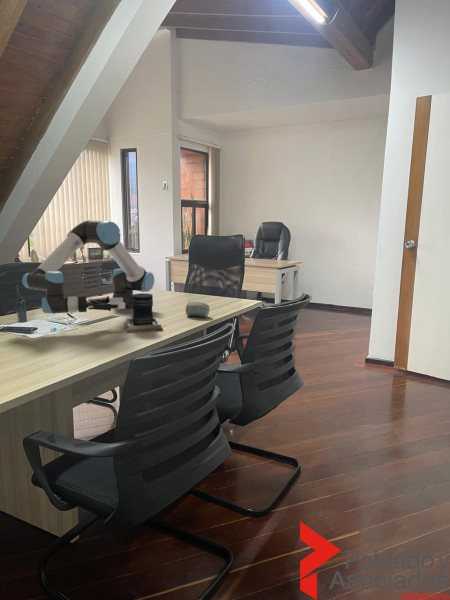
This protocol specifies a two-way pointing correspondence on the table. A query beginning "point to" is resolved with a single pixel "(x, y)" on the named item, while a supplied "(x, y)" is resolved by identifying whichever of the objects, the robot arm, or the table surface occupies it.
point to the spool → (197, 309)
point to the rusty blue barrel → (142, 309)
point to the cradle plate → (143, 326)
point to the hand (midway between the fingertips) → (124, 302)
